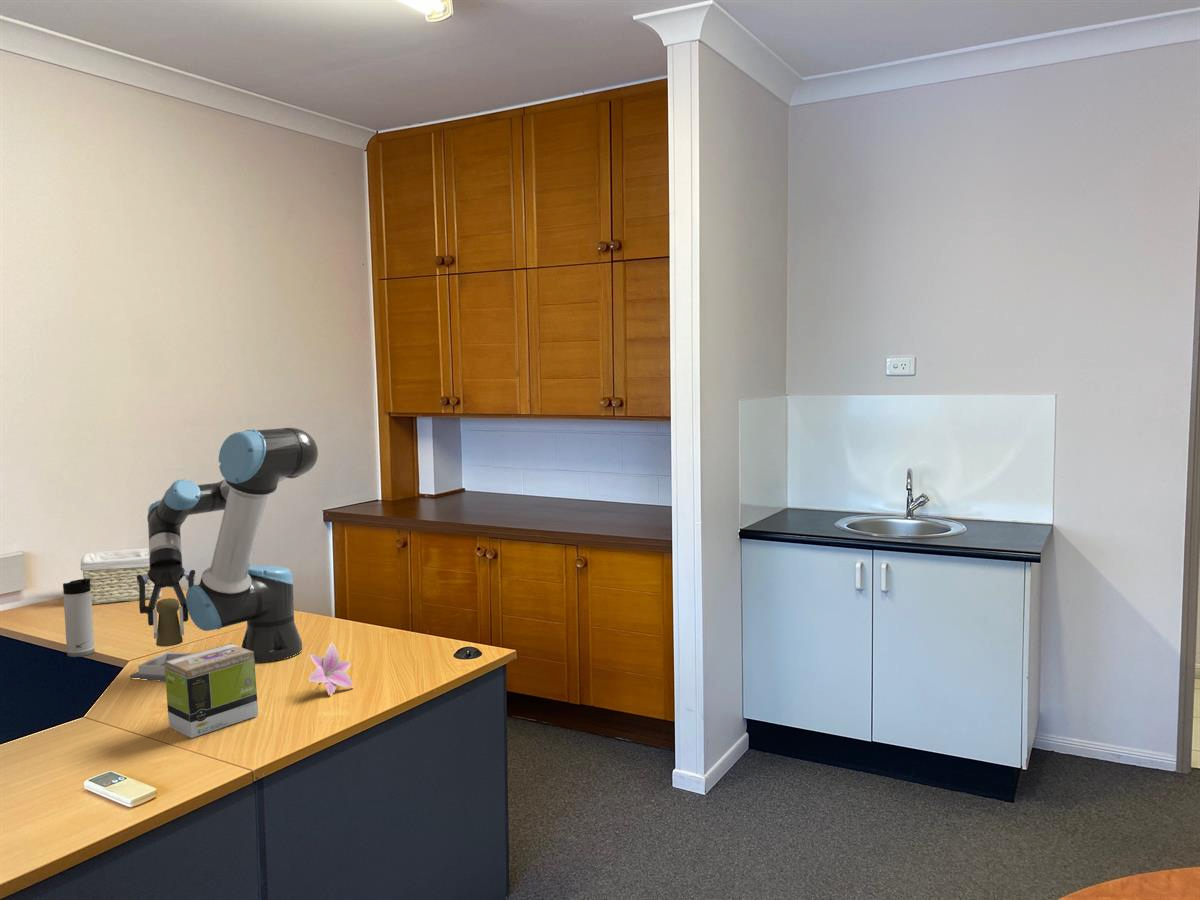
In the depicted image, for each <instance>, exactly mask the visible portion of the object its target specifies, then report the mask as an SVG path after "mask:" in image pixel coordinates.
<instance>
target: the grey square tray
mask: <svg viewBox="0 0 1200 900" xmlns="http://www.w3.org/2000/svg"><path fill="white" fill-rule="evenodd" d="M190 654H193V653H190V652H189V653H188V652H174V651H173V652H171V651H165V652H163V653H162V654H160V655H158V656H155V657H153V658H151V659H149V660H148V661H145V662H143V663H141V664H139V665H138V666H137V667H138V671H137V672H134V673H132V674H131V675H130V679H131V678H140V679H147V680H146V681H150V680H160V681H159V682H166V678H165V661H168V660H172V659H175V658H179V657H182V656H186V655H190Z"/></svg>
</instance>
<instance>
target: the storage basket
mask: <svg viewBox="0 0 1200 900" xmlns="http://www.w3.org/2000/svg"><path fill="white" fill-rule="evenodd" d="M149 556H150V555H149V547H147V548H146V547H145V548H131V549H120V550H119V549H118V550H106V551H105V550H104V551H95V552H94V551H93V552H85V554H84V555H83V556H82V557H81V561H80V572H81V571H82V579H90V588H91V600H92V605H99V604H107V603H109V604H110V603H112V604H113V603H118V602H135V601H136V602H137V601H139V585H138V583H137V576H138V575H142V576H143V575H146V574H148V572H149V570H150V563H149ZM153 589H154V583H153V582H152V581H151V580H150V579H148V580H147V583H146V584H145V600H150V599H151V595H152V592H153ZM162 590H163V589H162V588H161V591H160V593H159V596H158V599H160V598H162V595H163V593H162Z"/></svg>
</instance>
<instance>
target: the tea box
mask: <svg viewBox="0 0 1200 900" xmlns="http://www.w3.org/2000/svg"><path fill="white" fill-rule="evenodd" d="M256 675H257V674H256V662H255V661H254V652H253V651H250V650H247V649H244V648H242V647H241V646H239V645H236V644H233V643H232V642H231V643H227V644H224V645H220V646H214V647H212V648H209V649H204V650H201V651H197V652H194V653H193V654H190V655H186V656H182V657H179V658H175V659H172V660H168V661H165V678H166V681H165V685H166V686H165V688H166V691H165V692H166V703H167V704H166V705H167V715H168V717H167V718H168V726H169V727H170V728H171V729H173V730H174V731H176V732H178V733H179V734H182V735H184V736H185V737H188V738H190V739H194V738H197V737H199V736H202V735H205V734H209V733H212V732H215V731H216V730H220V729H223V728H225V727H228V726H232V725H234V724H238V723H240V722H244V721H246V720H249V719H253V718H255V717H258V716H259V707H258V691H257V689H258V688H257V678H256Z"/></svg>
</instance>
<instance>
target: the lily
mask: <svg viewBox="0 0 1200 900" xmlns="http://www.w3.org/2000/svg"><path fill="white" fill-rule="evenodd" d="M309 657H310V659H311V660H312V662H313V663H314V665H315V667H316V668H315V669H314V671H312V673H311V674H310V675H309V677H308V681H309V682H311V683H318V685H320V686H321V684H322V683H324V685H325V689H326V691H327V694H328V695H329V694H331V693H334V694H335V691H336V689H337V686H340V687H344V688H347V687H349V686H351V685H353V684H354V682H353V681H352V679H351V677H350V676H349V674H348V673H346V672H347V671H348V670H349V668H350V667H351V665H352V663H351V662H350V661H346V660H340V656H339V653H338V649H337V648H336V646H335V644H334V643H333V642H330V644H329V646H328V647H327V650H326V652H325V654H324V657H322V656H320V655H317V654H312V653H310V654H309ZM347 689H348V688H347Z"/></svg>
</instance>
